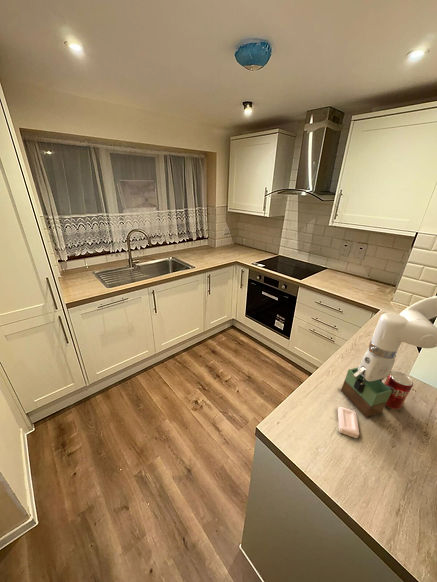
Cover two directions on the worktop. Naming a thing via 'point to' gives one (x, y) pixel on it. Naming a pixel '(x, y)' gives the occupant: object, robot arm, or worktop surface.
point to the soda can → (398, 389)
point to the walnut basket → (361, 401)
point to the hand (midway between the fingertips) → (366, 387)
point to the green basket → (370, 389)
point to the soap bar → (348, 422)
